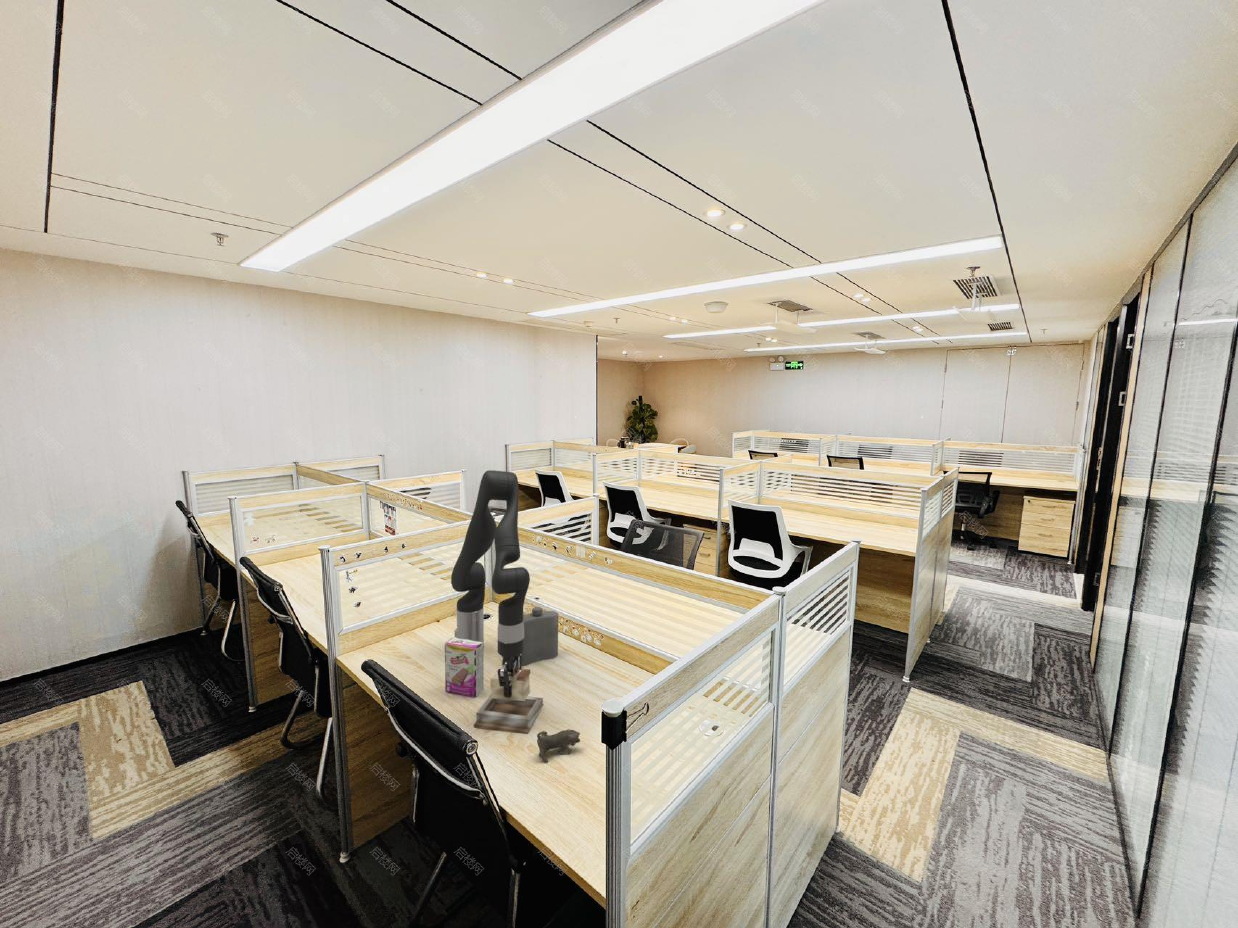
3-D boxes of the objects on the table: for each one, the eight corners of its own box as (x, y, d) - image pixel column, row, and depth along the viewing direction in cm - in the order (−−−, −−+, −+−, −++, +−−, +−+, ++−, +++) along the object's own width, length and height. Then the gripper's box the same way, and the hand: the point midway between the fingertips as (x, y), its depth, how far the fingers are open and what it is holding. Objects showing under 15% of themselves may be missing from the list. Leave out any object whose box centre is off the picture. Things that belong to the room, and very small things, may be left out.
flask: (554, 654, 185) (554, 602, 183) (559, 662, 180) (560, 608, 177) (513, 663, 178) (514, 608, 176) (518, 671, 173) (518, 615, 171)
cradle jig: (474, 727, 143) (473, 715, 142) (494, 699, 156) (494, 688, 156) (528, 735, 140) (528, 723, 139) (544, 705, 154) (544, 695, 153)
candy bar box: (444, 692, 159) (443, 642, 157) (453, 684, 164) (453, 636, 162) (476, 698, 156) (475, 648, 154) (484, 690, 161) (484, 641, 159)
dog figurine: (539, 766, 128) (539, 739, 127) (534, 751, 133) (535, 725, 133) (584, 756, 132) (585, 729, 131) (578, 742, 138) (579, 716, 137)
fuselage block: (491, 698, 146) (490, 674, 145) (498, 689, 150) (496, 667, 150) (525, 701, 144) (524, 677, 143) (531, 692, 149) (530, 669, 148)
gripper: (508, 624, 153) (508, 677, 155) (488, 646, 139) (488, 704, 141) (532, 626, 152) (531, 680, 154) (513, 648, 138) (514, 707, 140)
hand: (511, 691), depth 147 cm, fingers closed on fuselage block, 4 cm apart
